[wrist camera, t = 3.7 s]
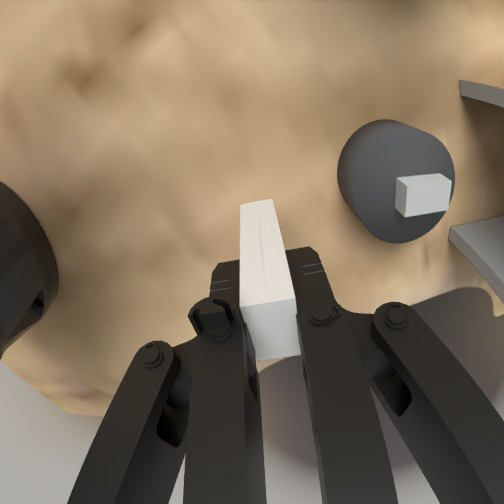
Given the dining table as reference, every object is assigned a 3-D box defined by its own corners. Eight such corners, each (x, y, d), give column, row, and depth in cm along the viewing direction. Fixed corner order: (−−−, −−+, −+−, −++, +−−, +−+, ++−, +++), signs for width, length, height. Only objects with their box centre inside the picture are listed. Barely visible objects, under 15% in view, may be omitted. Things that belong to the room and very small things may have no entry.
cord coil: (338, 223, 18) (363, 264, 15) (331, 122, 15) (364, 138, 11) (421, 209, 18) (456, 243, 14) (425, 119, 14) (471, 136, 10)
